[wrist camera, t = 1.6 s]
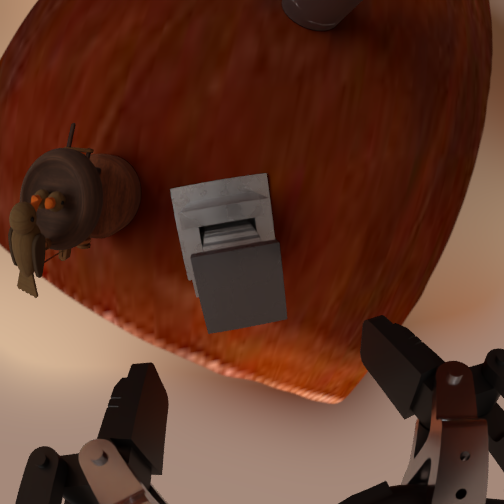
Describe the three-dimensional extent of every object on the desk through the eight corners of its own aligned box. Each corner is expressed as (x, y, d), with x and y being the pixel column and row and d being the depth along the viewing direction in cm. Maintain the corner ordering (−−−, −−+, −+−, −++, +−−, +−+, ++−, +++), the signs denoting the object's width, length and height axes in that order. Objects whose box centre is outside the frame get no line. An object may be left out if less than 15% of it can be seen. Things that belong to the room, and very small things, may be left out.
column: (202, 211, 33) (190, 258, 15) (242, 205, 33) (279, 242, 15) (209, 250, 34) (208, 333, 16) (248, 244, 34) (287, 318, 17)
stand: (171, 188, 32) (149, 196, 21) (265, 173, 33) (292, 172, 22) (189, 277, 36) (180, 324, 24) (276, 262, 37) (304, 301, 25)
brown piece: (145, 245, 34) (63, 320, 15) (78, 242, 33) (-18, 299, 14) (148, 128, 30) (55, 87, 10) (78, 136, 29) (-30, 123, 10)
